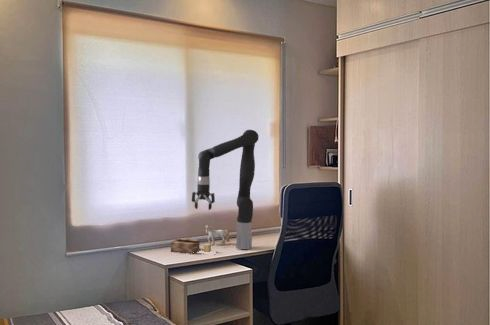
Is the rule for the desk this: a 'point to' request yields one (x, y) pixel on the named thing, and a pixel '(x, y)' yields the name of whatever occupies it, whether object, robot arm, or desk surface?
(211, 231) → the unicorn figurine
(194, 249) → the walnut box
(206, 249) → the slate lid
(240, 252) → the desk surface
